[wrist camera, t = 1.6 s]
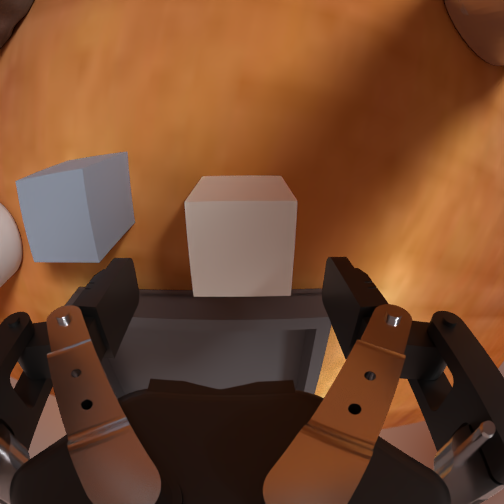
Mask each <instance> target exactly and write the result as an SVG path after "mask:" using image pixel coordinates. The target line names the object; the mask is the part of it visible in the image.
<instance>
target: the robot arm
mask: <svg viewBox="0 0 504 504" xmlns="http://www.w3.org/2000/svg"><path fill="white" fill-rule="evenodd" d="M444 1H445V5H446V8H447V10H448V13H449V15H450V18H451V19H452V21H453V23H454V25H455V27H456V29H457V30H458V32H459V33H460V35H461V36H462V38H463V39H464V40H465V42H466V43H467V44H468V45H469V47H470V48H471V49H472V50H473V51H474V52H475V53H476V54H477V55H478V56H479V57H481V58H482V59H483V60H484V61H486V62H488V63H490V64H492V65H496V66H504V0H444ZM322 301H323V305H324V307H325V310H326V312H327V315H328V317H329V319H330V322H331V324H332V327H333V329H334V332H335V334H336V336H337V339H338V341H339V344H340V346H341V349H342V351H343V354H344V356H345V359H347V360H346V361H345V363H344V365H343V367H342V369H341V370H340V372H339V374H338V376H337V377H336V379H335V381H334V382H333V384H332V386H331V388H330V389H329V391H328V392H327V394H326V396H325V397H324V398H322V397H320V396H317V395H315V394H311V393H308V392H304V391H299V390H295V387H294V382H293V380H282V381H260V382H254V383H249V384H245V385H240V386H235V387H230V388H225V389H215V388H211V387H207V386H202V385H198V384H194V383H190V382H186V381H177V380H162V379H150V382H149V386H148V389H142V390H138V391H134V392H131V393H128V394H126V395H123V396H121V397H120V398H118V397H117V395H116V393H115V391H114V389H113V387H112V385H111V383H110V380H109V378H108V376H107V374H106V372H105V369H104V367H103V365H102V363H101V361H102V359H103V357H105V358H114V359H115V356H116V354H117V351H118V349H119V347H120V344H121V342H122V340H123V337H124V335H125V333H126V331H127V328H128V326H129V324H130V322H131V319H132V317H133V315H134V313H135V311H136V309H137V306H138V304H139V288H138V283H137V278H136V273H135V268H134V263H133V260H132V259H131V258H114V259H113V260H112V261H111V262H110V264H109V265H108V266H107V268H106V269H103V270H102V271H100V272H99V273H97V274H96V275H94V277H93V278H92V279H91V280H90V282H89V284H87V286H86V287H85V289H84V290H83V291H82V292H81V294H80V295H79V296H78V298H77V299H76V300H75V302H74V303H73V304H72V305H67V306H62V307H60V308H57V309H56V310H54V311H53V312H51V314H50V315H49V316H48V318H47V322H40V323H33V324H32V321H31V319H30V317H29V315H28V314H27V313H25V312H17V313H14V314H11V315H10V316H8V317H7V318H6V319H4V321H3V322H2V323H1V324H0V503H1V504H480V503H482V502H483V501H485V500H487V499H488V498H490V497H491V496H493V495H495V494H496V493H498V492H499V491H501V490H502V489H503V488H504V378H503V376H502V374H501V373H500V371H499V370H498V368H497V367H496V365H495V364H494V363H493V361H492V360H491V358H490V357H489V355H488V354H487V353H486V351H485V350H484V348H483V347H482V346H481V344H480V343H479V341H478V340H477V339H476V337H475V336H474V335H473V333H472V332H471V331H470V329H469V328H468V327H467V326H466V324H465V323H464V322H463V321H462V319H461V318H459V317H458V316H457V315H455V314H453V313H451V312H447V311H438V312H436V313H434V314H433V316H432V319H431V321H430V323H428V322H419V321H412V317H411V315H410V314H409V313H408V312H407V311H406V310H405V309H403V308H401V307H399V306H396V305H391V304H388V302H387V301H386V300H385V298H384V297H383V295H382V294H381V293H380V291H379V290H378V288H376V286H375V284H374V283H372V280H371V279H370V278H369V276H368V275H367V274H366V273H365V272H363V271H362V270H360V269H358V268H354V267H353V265H352V264H351V263H350V261H349V260H348V258H347V257H328V259H327V262H326V268H325V275H324V281H323V288H322ZM17 361H18V362H19V364H20V366H21V367H22V369H23V372H22V374H21V376H20V378H19V380H18V382H17V384H16V386H15V388H14V389H13V387H12V386H11V383H10V374H11V372H12V370H13V368H14V366H15V365H16V363H17ZM446 366H448V368H449V370H450V371H451V373H452V375H453V379H454V383H453V387H452V386H451V384H450V383H449V381H448V379H447V377H446V375H445V373H444V372H443V371H444V369H445V367H446ZM399 378H403V379H408V381H409V383H410V386H411V388H412V390H413V392H414V395H415V397H416V399H417V402H418V404H419V406H420V409H421V411H422V413H423V416H424V418H425V421H426V423H427V426H428V428H429V431H430V433H431V436H432V439H433V441H434V444H435V446H436V449H437V454H436V455H435V459H434V470H431V469H430V468H428V467H426V466H424V465H423V464H422V463H420V462H418V461H417V460H415V459H413V458H411V457H410V456H408V455H407V454H405V453H404V452H402V451H401V450H399V449H398V448H396V447H395V446H393V445H391V444H390V443H388V442H387V441H385V440H384V439H382V438H381V437H379V434H380V431H381V429H382V426H383V424H384V421H385V419H386V416H387V413H388V411H389V408H390V405H391V402H392V399H393V397H394V394H395V391H396V388H397V384H398V381H399ZM52 387H53V388H54V392H55V396H56V400H57V403H58V407H59V411H60V414H61V418H62V421H63V424H64V427H65V430H66V433H67V435H65V436H64V437H63V438H61V439H59V440H58V441H57V442H55V443H54V444H52V445H51V446H49V447H48V448H46V449H45V450H43V451H42V452H40V453H39V454H38V455H36V456H34V457H33V458H31V459H30V458H29V453H28V450H29V447H30V444H31V441H32V438H33V435H34V432H35V429H36V427H37V424H38V421H39V418H40V416H41V413H42V411H43V408H44V406H45V403H46V401H47V398H48V396H49V394H50V391H51V389H52Z"/></svg>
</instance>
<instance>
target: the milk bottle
mask: <svg viewBox="0 0 504 504" xmlns="http://www.w3.org/2000/svg"><path fill="white" fill-rule="evenodd" d="M21 260H22V240H21V237H20V232H19V230H18V227H17V224H16V222H15V220H14V218H13V217H12V215H11V214H10V212H9V211H8V210H7V209H6V207H5V206H3V205H2V204H1V203H0V287H1V286H2V285H3V284H4V283H5V282H6V281H7V280H8V279H9V278H10V277H11V276H12V275H13V274H14V273H15V272H16V271H17V270H18V268H19V266H20V263H21Z"/></svg>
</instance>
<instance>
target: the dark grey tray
mask: <svg viewBox="0 0 504 504" xmlns="http://www.w3.org/2000/svg"><path fill="white" fill-rule="evenodd" d="M84 289H85V287H79V288H78V289H77V290H76V292H75V293H74V294H73V295H72V297H71V298H70V299H69V301H68V302H67V303H66V304H65V306H67V305H72V304H73V303H74V302H75V300H76V299H77V298H78V296H79V295H80V294H81V292H82V291H83V290H84ZM330 328H331V322H330V319H329V317H328V315H327V312H326V310H325V307H324V305H323V301H322V289H291V296H254V297H194V295H193V290H145V289H139V304H138V306H137V309H136V311H135V313H134V315H133V317H132V319H131V322H130V324H129V326H128V328H127V331H126V333H125V335H124V337H123V340H122V342H121V344H120V347H119V349H118V351H117V354H116V356H115V359H114V358H105V357H103V359H102V361H101V363H102V365H103V367H104V369H105V372H106V374H107V376H108V378H109V380H110V383H111V385H112V387H113V389H114V391H115V393H116V395H117V397H118V398H120V397H121V396H123V395H126V394H128V393H131V392H134V391H138V390H142V389H148V386H149V382H150V379H162V380H177V381H186V382H190V383H194V384H198V385H202V386H207V387H211V388H215V389H225V388H230V387H235V386H240V385H245V384H249V383H254V382H260V381H282V380H293V382H294V387H295V390H299V391H304V392H308V393H311V394H314V393H315V390H316V386H317V382H318V379H319V375H320V371H321V367H322V363H323V359H324V354H325V350H326V346H327V342H328V337H329V333H330Z"/></svg>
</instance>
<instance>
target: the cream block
mask: <svg viewBox="0 0 504 504" xmlns="http://www.w3.org/2000/svg"><path fill="white" fill-rule="evenodd" d="M297 202H298V201H297V199H296V198H295V196H294V195H293V193H292V192H291V190H290V189H289V187H288V186H287V184H286V182H285V181H284V179H283V178H282V176H259V175H249V176H202V178H201V179H200V180H199V182H198V183H197V185H196V186H195V187H194V189H193V190H192V192H191V193H190V195H189V196H188V198H187V199H186V201H185V202H184V204H185V217H186V229H187V240H188V250H189V260H190V270H191V279H192V287H193V295H194V297H254V296H291V287H292V275H293V263H294V249H295V235H296V220H297Z"/></svg>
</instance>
